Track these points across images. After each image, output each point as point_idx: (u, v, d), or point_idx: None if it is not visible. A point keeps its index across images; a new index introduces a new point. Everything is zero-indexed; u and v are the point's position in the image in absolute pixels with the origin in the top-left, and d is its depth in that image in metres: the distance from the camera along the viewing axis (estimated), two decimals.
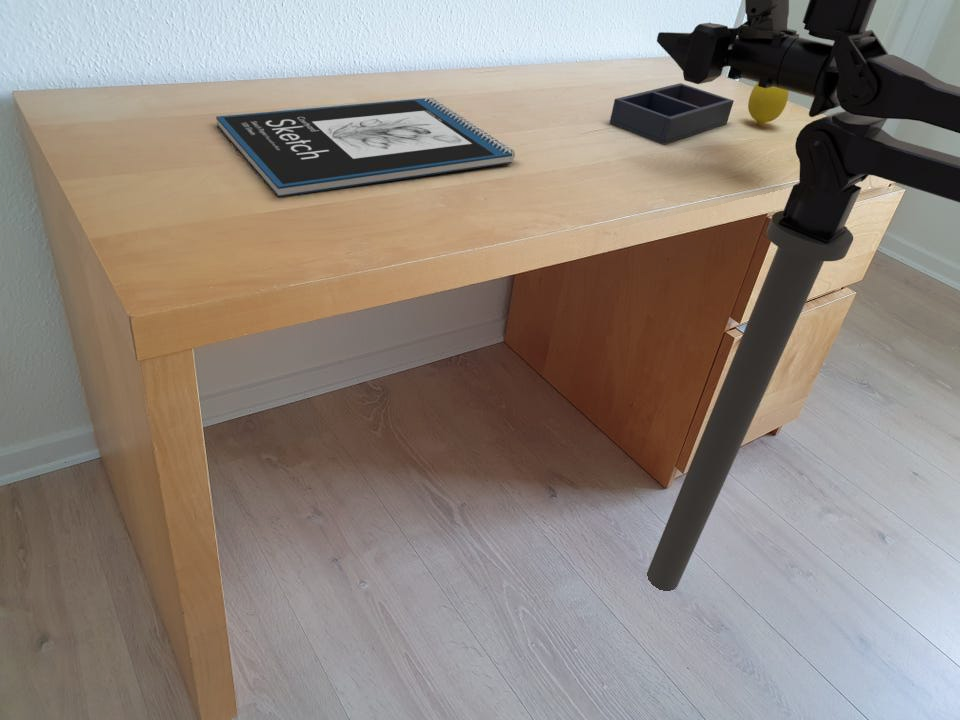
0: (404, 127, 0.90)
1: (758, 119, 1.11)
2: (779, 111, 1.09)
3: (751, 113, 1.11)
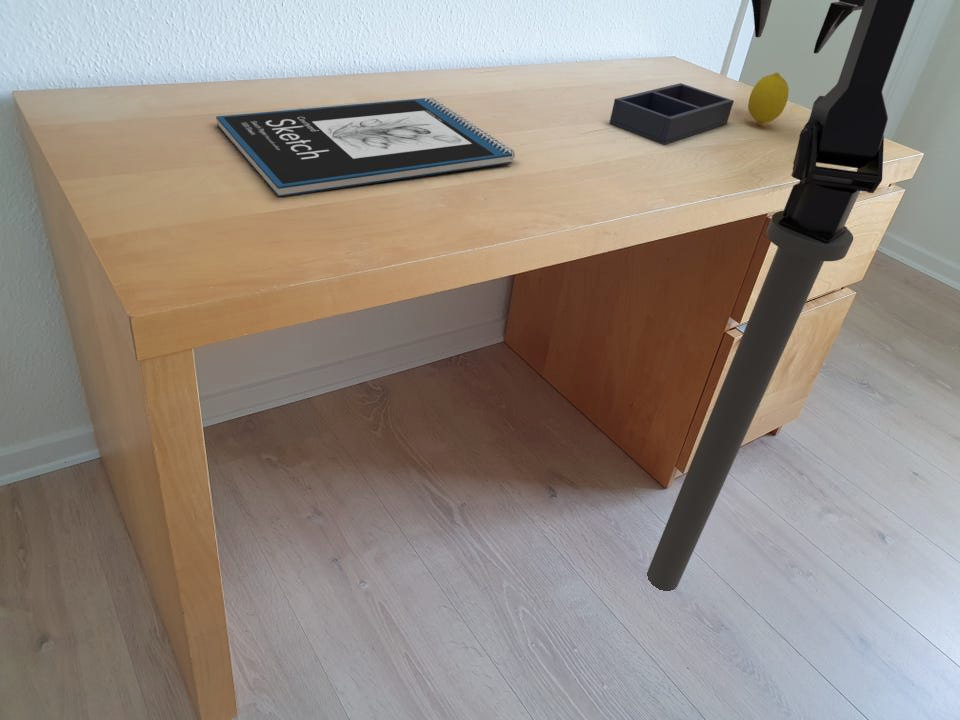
0: (404, 127, 0.90)
1: (758, 119, 1.11)
2: (779, 111, 1.09)
3: (751, 113, 1.11)
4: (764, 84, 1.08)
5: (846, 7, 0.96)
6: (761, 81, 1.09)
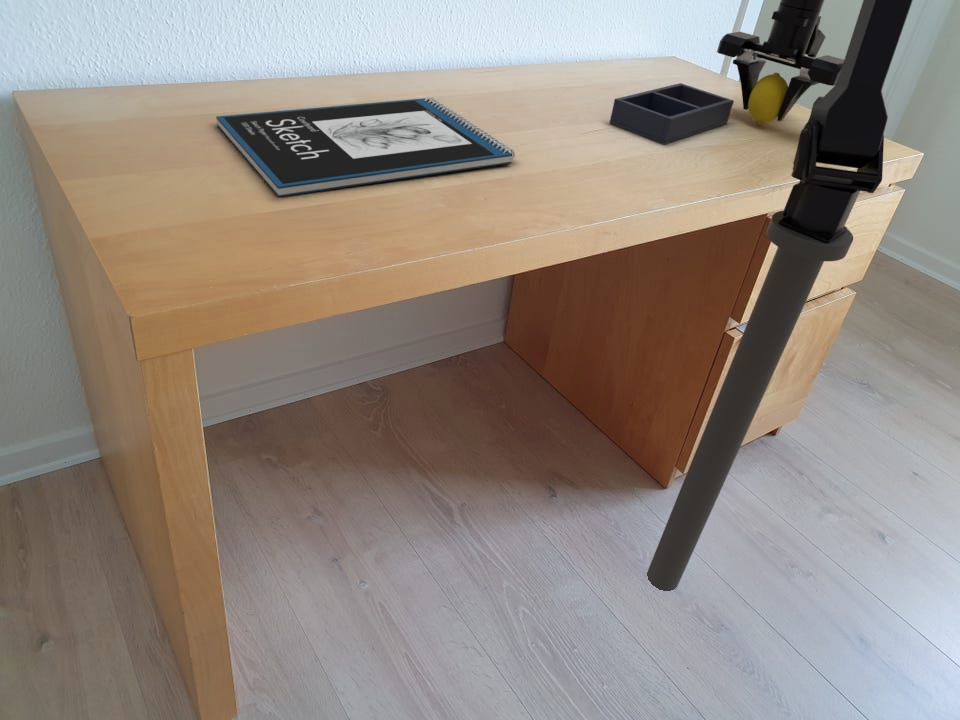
0: (404, 127, 0.90)
1: (758, 119, 1.11)
2: None
3: (751, 113, 1.11)
4: (764, 84, 1.08)
5: (805, 82, 1.03)
6: (761, 81, 1.09)
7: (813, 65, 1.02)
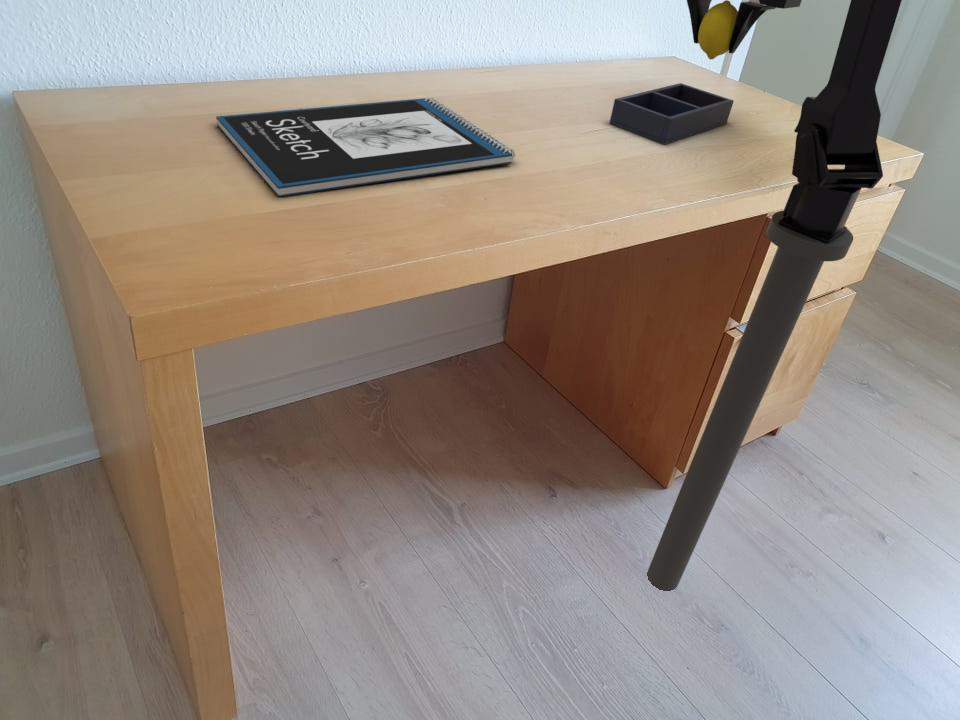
0: (404, 127, 0.90)
1: (708, 52, 1.04)
2: None
3: (701, 45, 1.04)
4: (713, 12, 1.01)
5: (754, 6, 0.96)
6: (710, 10, 1.02)
7: None
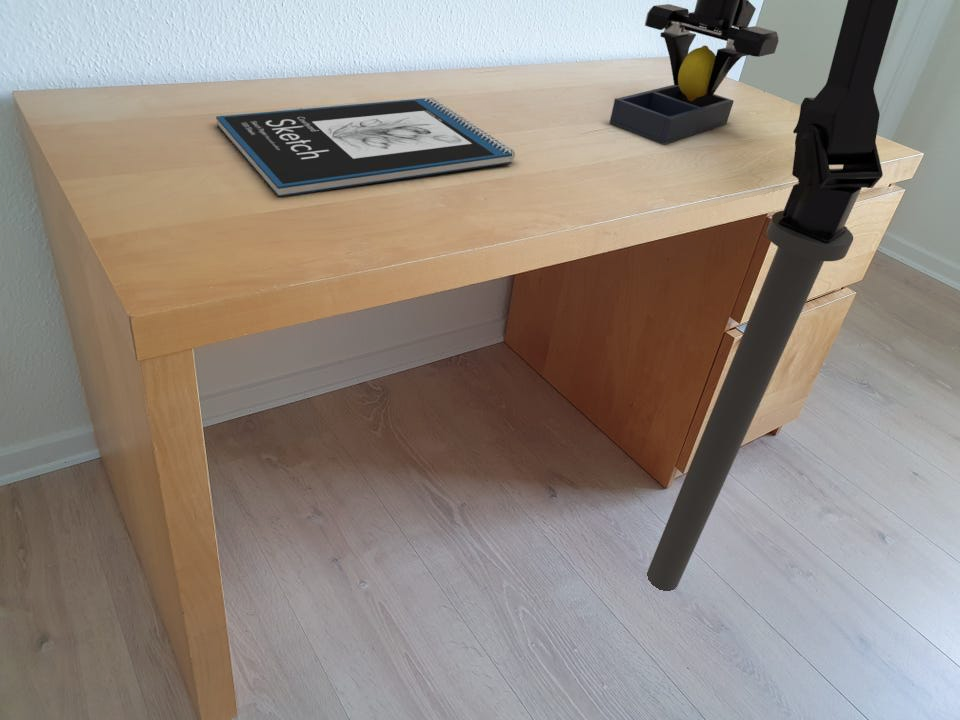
0: (404, 127, 0.90)
1: (688, 94, 1.07)
2: None
3: (681, 88, 1.08)
4: (692, 57, 1.05)
5: (731, 54, 1.00)
6: (689, 54, 1.05)
7: (738, 35, 0.98)
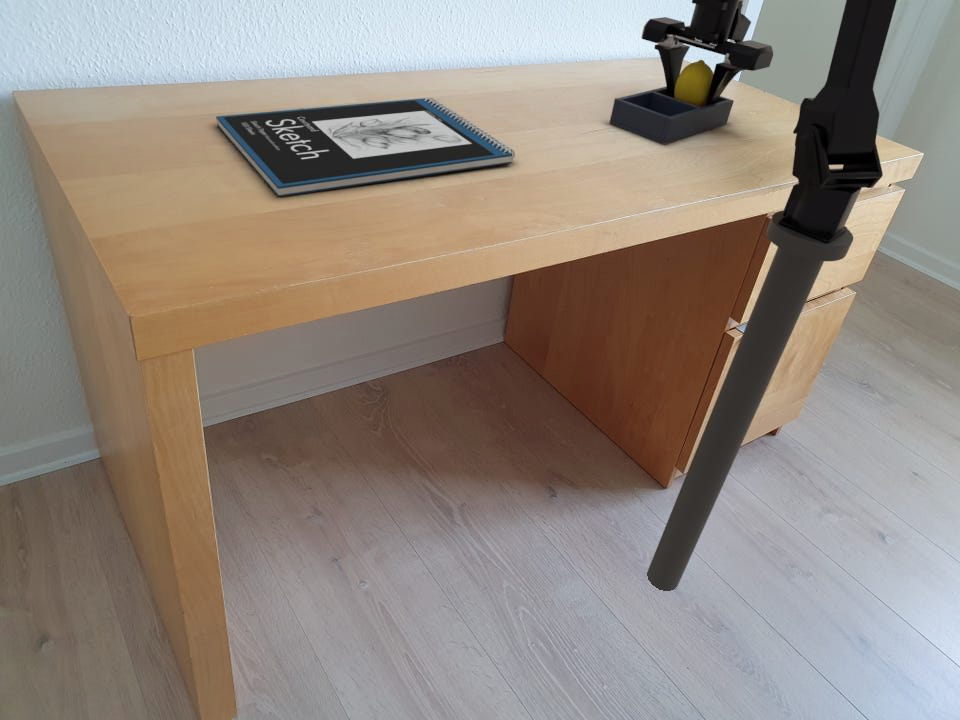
0: (404, 127, 0.90)
1: None
2: (704, 99, 1.07)
3: None
4: (688, 72, 1.06)
5: (729, 68, 1.00)
6: (685, 68, 1.06)
7: (733, 50, 0.99)
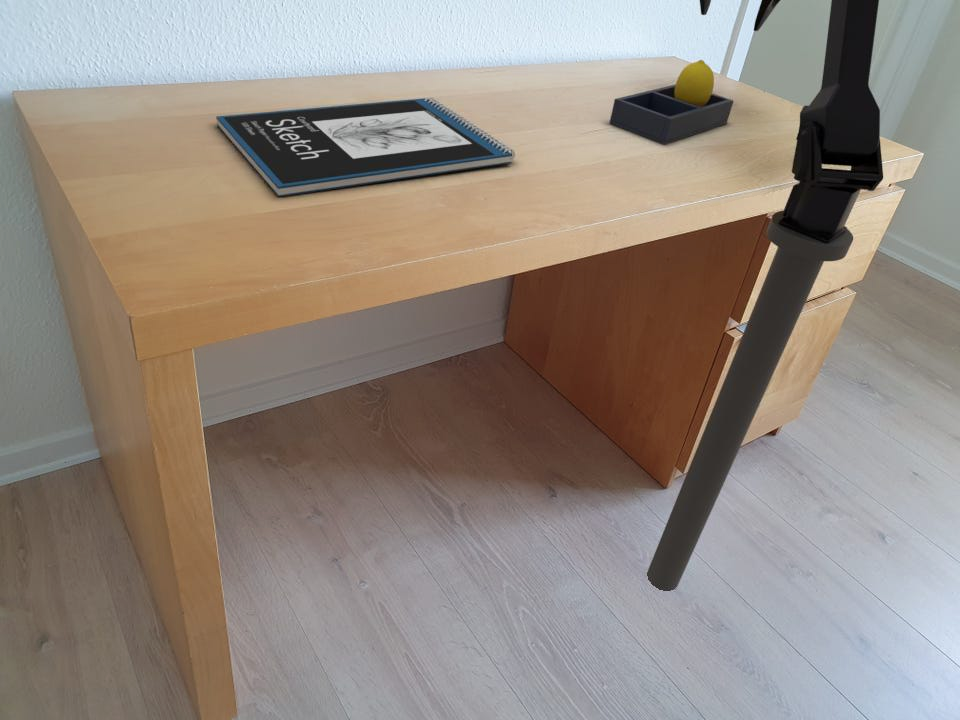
0: (404, 127, 0.90)
1: None
2: (704, 99, 1.07)
3: None
4: (688, 72, 1.06)
5: None
6: (685, 69, 1.06)
7: None
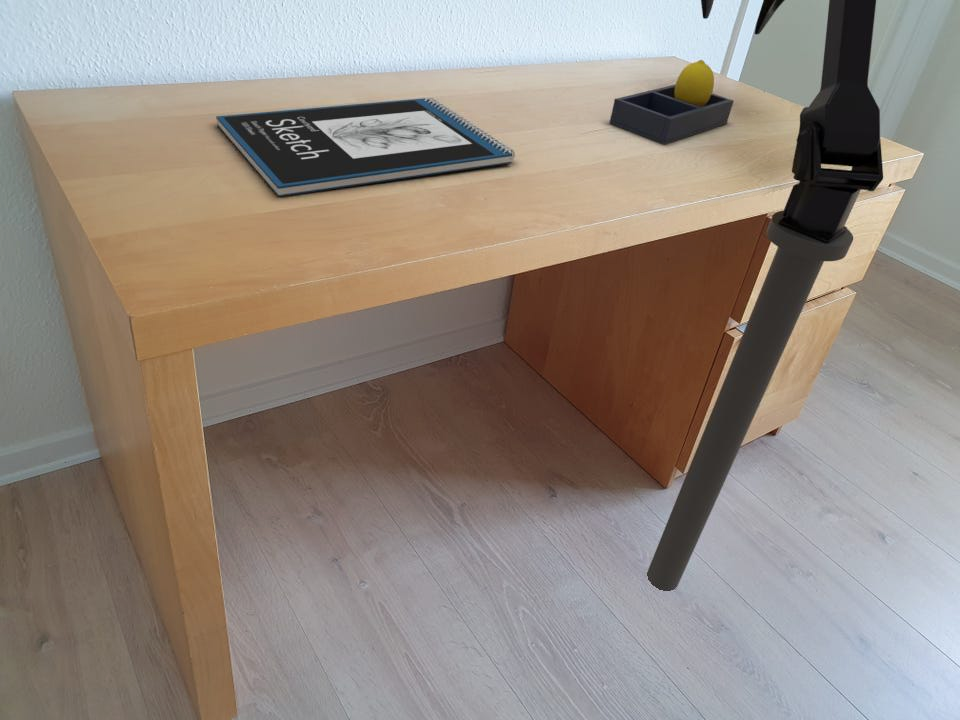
0: (404, 127, 0.90)
1: None
2: (704, 99, 1.07)
3: None
4: (688, 72, 1.06)
5: None
6: (685, 69, 1.06)
7: None
